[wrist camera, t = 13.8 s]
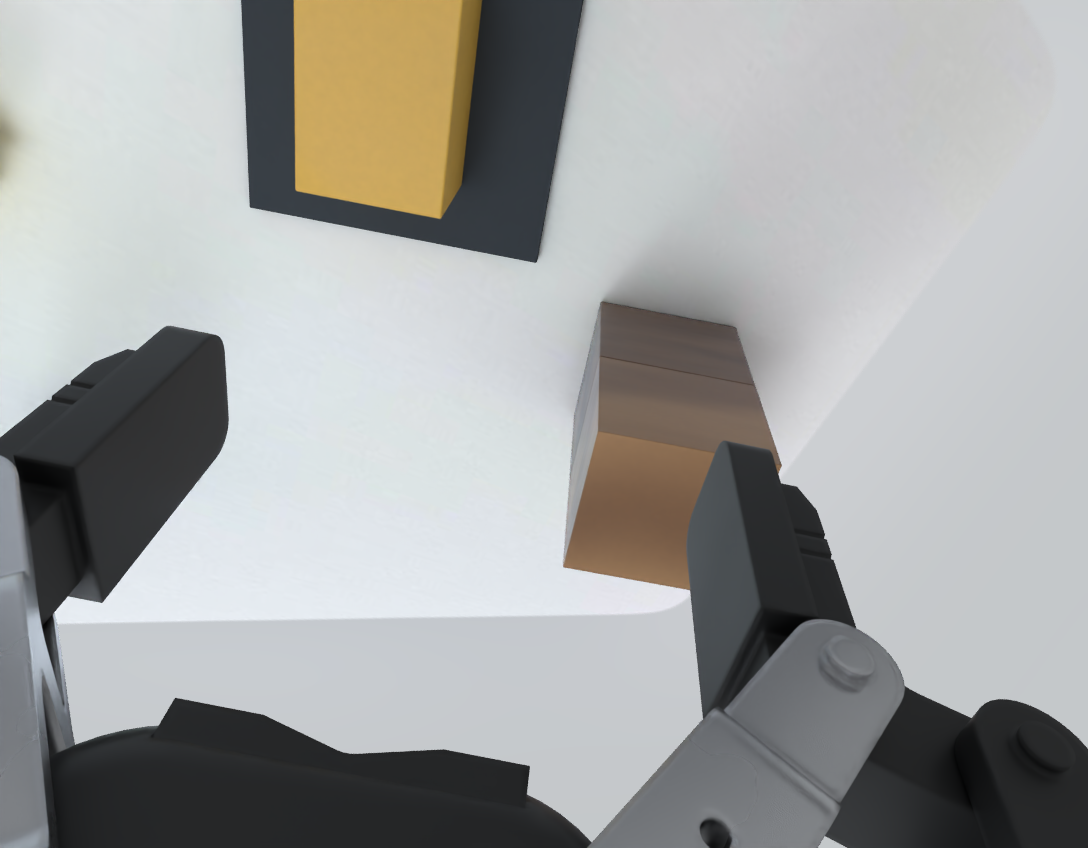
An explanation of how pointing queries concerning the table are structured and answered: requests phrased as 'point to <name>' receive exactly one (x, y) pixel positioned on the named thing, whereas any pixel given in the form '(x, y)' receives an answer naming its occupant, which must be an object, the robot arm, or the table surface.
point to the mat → (492, 138)
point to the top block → (384, 100)
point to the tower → (652, 439)
